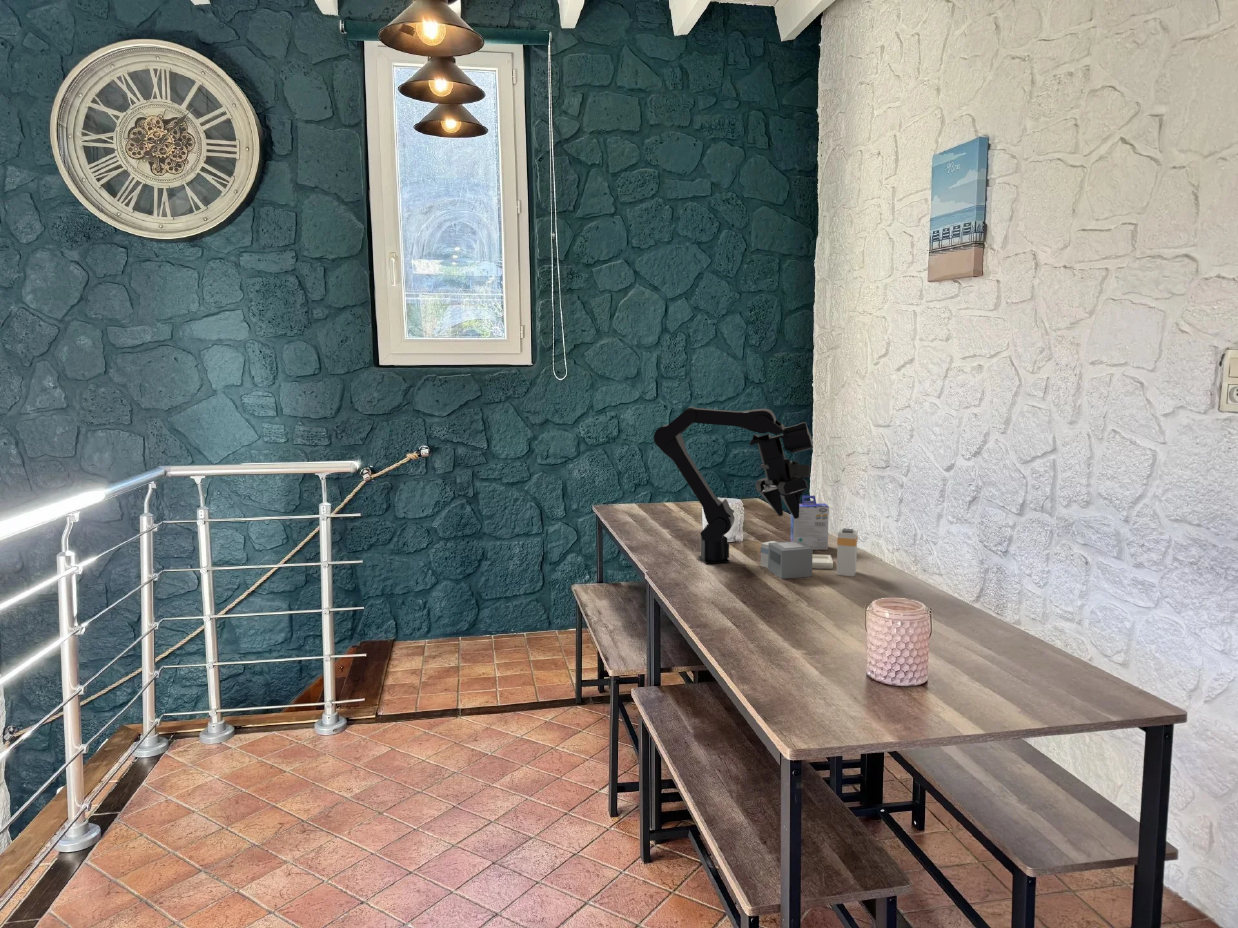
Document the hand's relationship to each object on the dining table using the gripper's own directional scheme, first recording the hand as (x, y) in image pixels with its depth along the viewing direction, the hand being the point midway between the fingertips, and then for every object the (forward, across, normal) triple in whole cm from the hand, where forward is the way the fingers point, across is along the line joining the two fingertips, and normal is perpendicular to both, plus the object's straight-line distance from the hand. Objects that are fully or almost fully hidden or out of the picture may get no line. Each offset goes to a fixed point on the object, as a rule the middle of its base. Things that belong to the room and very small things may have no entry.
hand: (788, 516), depth 207 cm
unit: (+12, -5, +6) cm, 15 cm away
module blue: (+11, +2, +7) cm, 13 cm away
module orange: (+16, -8, -7) cm, 20 cm away
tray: (+14, +1, -4) cm, 15 cm away
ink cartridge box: (+14, +17, -11) cm, 24 cm away
